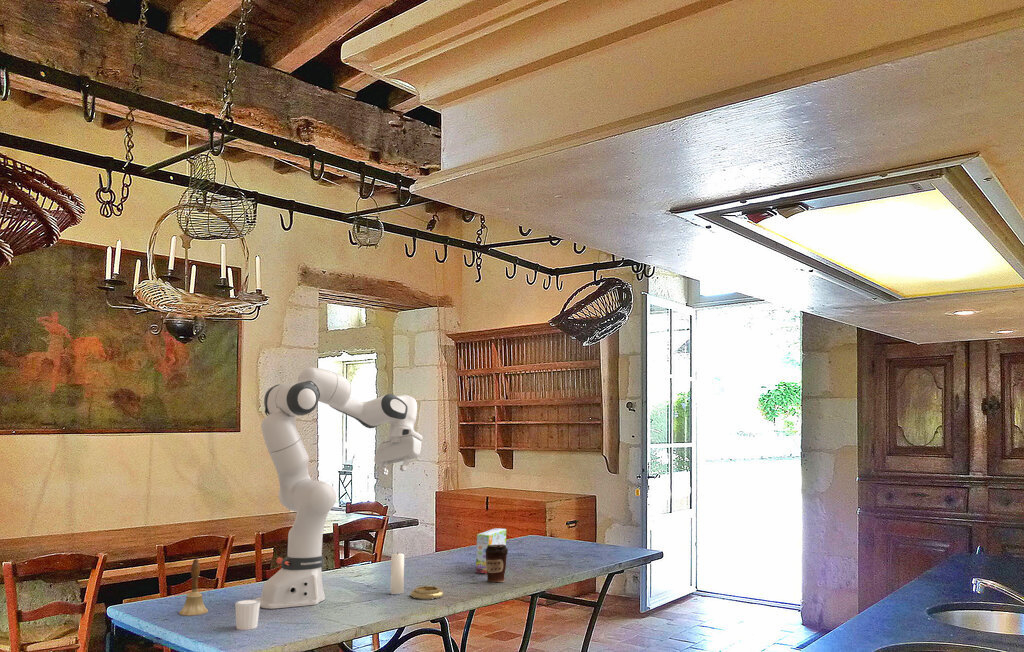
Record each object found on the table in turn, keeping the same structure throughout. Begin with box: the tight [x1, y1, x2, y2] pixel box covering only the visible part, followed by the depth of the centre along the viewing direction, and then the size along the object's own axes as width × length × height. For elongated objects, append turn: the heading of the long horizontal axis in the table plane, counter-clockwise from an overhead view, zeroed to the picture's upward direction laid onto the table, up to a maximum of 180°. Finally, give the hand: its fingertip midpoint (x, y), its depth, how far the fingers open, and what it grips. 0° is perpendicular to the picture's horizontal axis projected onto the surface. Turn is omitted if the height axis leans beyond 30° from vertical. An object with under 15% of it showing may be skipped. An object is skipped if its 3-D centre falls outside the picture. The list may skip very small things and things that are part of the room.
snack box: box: [475, 527, 507, 575], centre depth 322 cm, size 21×6×15 cm, turn 161°
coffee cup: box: [485, 544, 509, 583], centre depth 297 cm, size 9×8×13 cm
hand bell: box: [178, 558, 209, 617], centre depth 246 cm, size 8×8×16 cm
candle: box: [390, 551, 405, 594], centre depth 275 cm, size 4×4×14 cm
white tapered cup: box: [234, 599, 261, 631], centre depth 229 cm, size 7×7×7 cm
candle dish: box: [410, 585, 445, 600], centre depth 270 cm, size 11×11×2 cm
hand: (393, 472), depth 288 cm, fingers open, 8 cm apart
